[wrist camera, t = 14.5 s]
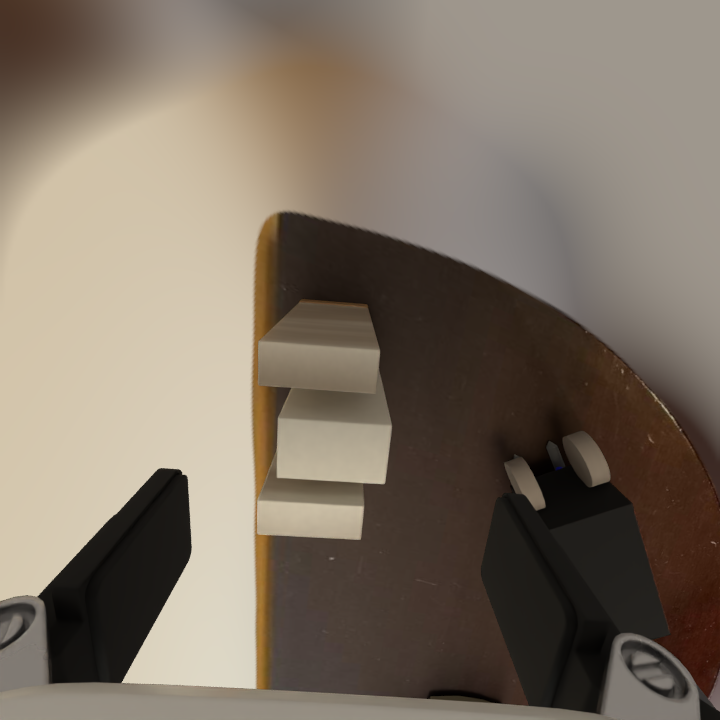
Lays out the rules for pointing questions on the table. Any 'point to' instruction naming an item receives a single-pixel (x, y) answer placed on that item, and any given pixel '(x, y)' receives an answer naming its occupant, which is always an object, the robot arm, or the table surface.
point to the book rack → (321, 372)
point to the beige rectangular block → (334, 436)
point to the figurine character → (595, 532)
